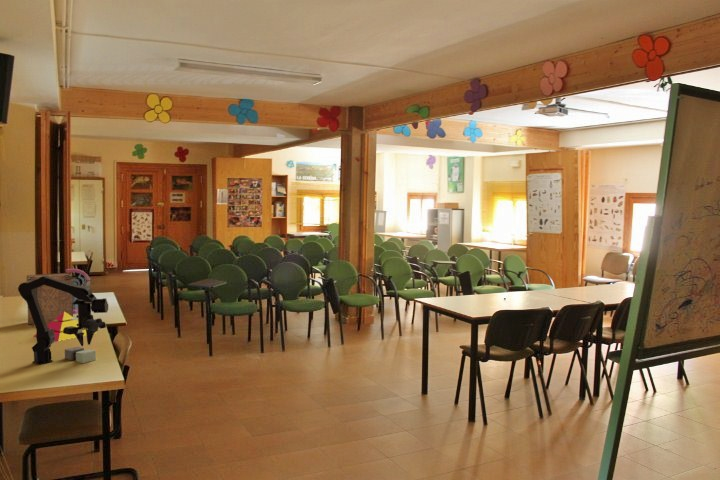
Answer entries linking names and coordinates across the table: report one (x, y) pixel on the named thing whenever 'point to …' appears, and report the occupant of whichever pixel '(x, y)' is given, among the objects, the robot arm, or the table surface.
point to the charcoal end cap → (70, 352)
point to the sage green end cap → (85, 356)
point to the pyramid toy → (63, 326)
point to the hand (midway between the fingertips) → (85, 345)
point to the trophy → (75, 306)
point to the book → (52, 298)
